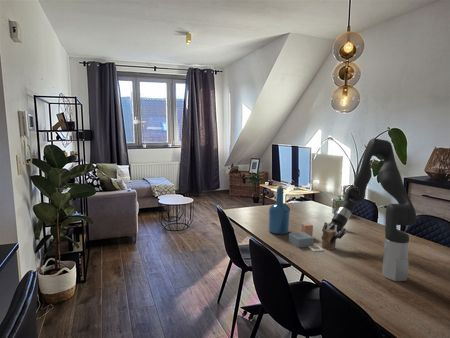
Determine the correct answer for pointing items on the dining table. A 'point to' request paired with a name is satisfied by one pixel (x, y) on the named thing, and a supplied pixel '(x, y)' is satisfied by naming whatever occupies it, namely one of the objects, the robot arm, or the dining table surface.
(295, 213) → the dining table surface
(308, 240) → the plinth
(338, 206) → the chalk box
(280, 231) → the wine bottle
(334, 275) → the dining table surface
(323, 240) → the walnut block
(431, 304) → the dining table surface
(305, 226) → the terracotta block
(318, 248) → the tile
